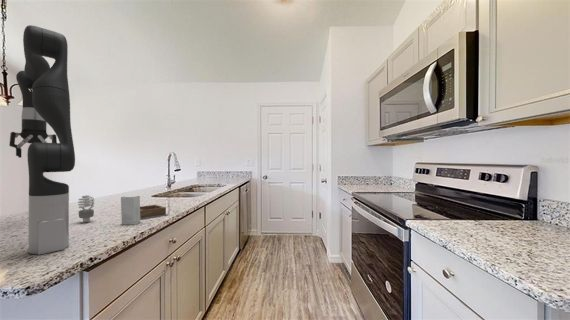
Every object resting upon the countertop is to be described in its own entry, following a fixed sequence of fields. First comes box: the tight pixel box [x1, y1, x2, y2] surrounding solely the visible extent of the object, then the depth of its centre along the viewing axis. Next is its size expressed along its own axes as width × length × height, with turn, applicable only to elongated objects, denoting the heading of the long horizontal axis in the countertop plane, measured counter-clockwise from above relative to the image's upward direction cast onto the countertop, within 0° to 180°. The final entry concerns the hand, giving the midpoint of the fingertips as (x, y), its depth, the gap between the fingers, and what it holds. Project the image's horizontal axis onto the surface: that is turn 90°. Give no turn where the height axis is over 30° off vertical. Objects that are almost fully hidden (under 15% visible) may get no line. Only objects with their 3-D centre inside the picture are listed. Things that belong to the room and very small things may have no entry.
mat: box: [140, 213, 168, 221], centre depth 126 cm, size 14×14×1 cm
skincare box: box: [120, 195, 141, 226], centre depth 110 cm, size 6×4×12 cm
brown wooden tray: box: [140, 204, 167, 218], centre depth 127 cm, size 11×11×4 cm
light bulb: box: [77, 194, 95, 223], centre depth 112 cm, size 6×6×12 cm
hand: (34, 157), depth 108 cm, fingers open, 8 cm apart
